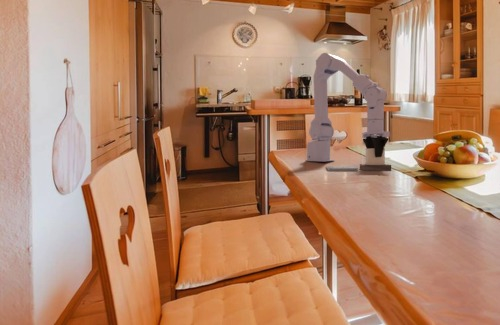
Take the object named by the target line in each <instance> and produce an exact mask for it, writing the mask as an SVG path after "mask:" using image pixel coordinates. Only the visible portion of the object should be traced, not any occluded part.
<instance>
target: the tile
mask: <svg viewBox="0 0 500 325" xmlns="http://www.w3.org/2000/svg"><path fill="white" fill-rule="evenodd" d="M325 168H326V170H327V171H328V172H359V171H358V169H359V167H355V166H352V165H351V166H350V165H349V166H347V165H346V166H345V165H344V166H342V165H341V166H340V165H339V166H336V165H335V166H325Z"/></svg>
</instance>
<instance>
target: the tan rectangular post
mask: <svg viewBox="0 0 500 325" xmlns="http://www.w3.org/2000/svg"><path fill="white" fill-rule="evenodd" d="M385 149H386V147H384V150H383V154H382V157H375V148H369V149H367V148H365V164H366V165H385V164H386V162H385V158H386V157H385V156H386V155H385V154H386V153H385Z"/></svg>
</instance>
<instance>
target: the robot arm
mask: <svg viewBox="0 0 500 325" xmlns="http://www.w3.org/2000/svg"><path fill="white" fill-rule="evenodd" d="M337 72H341V73H342V74H344V75H345V76H346V77H347V78H348V79H349V80H351V81H352V87H354V88H355V89H356V90H357V91H358V92H359V93H360V94H361V95H362V96H363V98H364V100H365V101H366V106H367V107H366V110H367V111H366V116H367V118H366V131H364V132H362V134H361V138H362V141H363V143H364V146H365V147H366V148H365V149H369V148H375V157H382V154H383V150H384V148H386V145H387V143H388V141H389V138H390V136H391V133H390V132H391V131H387V130H386V131H385V130H384V129H385V128H384V124H385V123H384V122H385V119H384V118H385V117H384V115H385V101H386V99H387V96H388V94H387V91H386V90H385V88H384V87H381V86H380V87H379V86H378V85H379V84H378V83H377V82H374V81H373V80H372V79H370V75H368V74H364V73H362V74H359V73H358V72H357V70H355V69H354V68H353V67H352V65H350V64H349V63H348V62H347V61H346V60H345V59H343V58H342V57H340V56H338V55H334V54H331V53H328V52H322V53H321V54H320V55H319V56H318V57H317V59H316V60H315V69H314V73H313V104H314V118H313V119H312V120H311V121H310V127H309V136H310V138H311V140H309V141H308V142H307V145H306V159H305V161H306V162H335V159H331V140H332V138H333V136H334V133H335V130H334V127H333V126H332V125H333V124H332V120H331V119H330V117H329V106H328V79H329V78H330V77H332V76H333V75H334V74H336V73H337Z"/></svg>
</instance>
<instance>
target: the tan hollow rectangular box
mask: <svg viewBox="0 0 500 325" xmlns="http://www.w3.org/2000/svg"><path fill="white" fill-rule="evenodd" d="M359 170H361V171H365V172H367V171H371V172H373V171H374V172H375V171H378V172H379V171H392V165H391V164H389V163H385V165H366V163H360V164H359Z"/></svg>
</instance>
